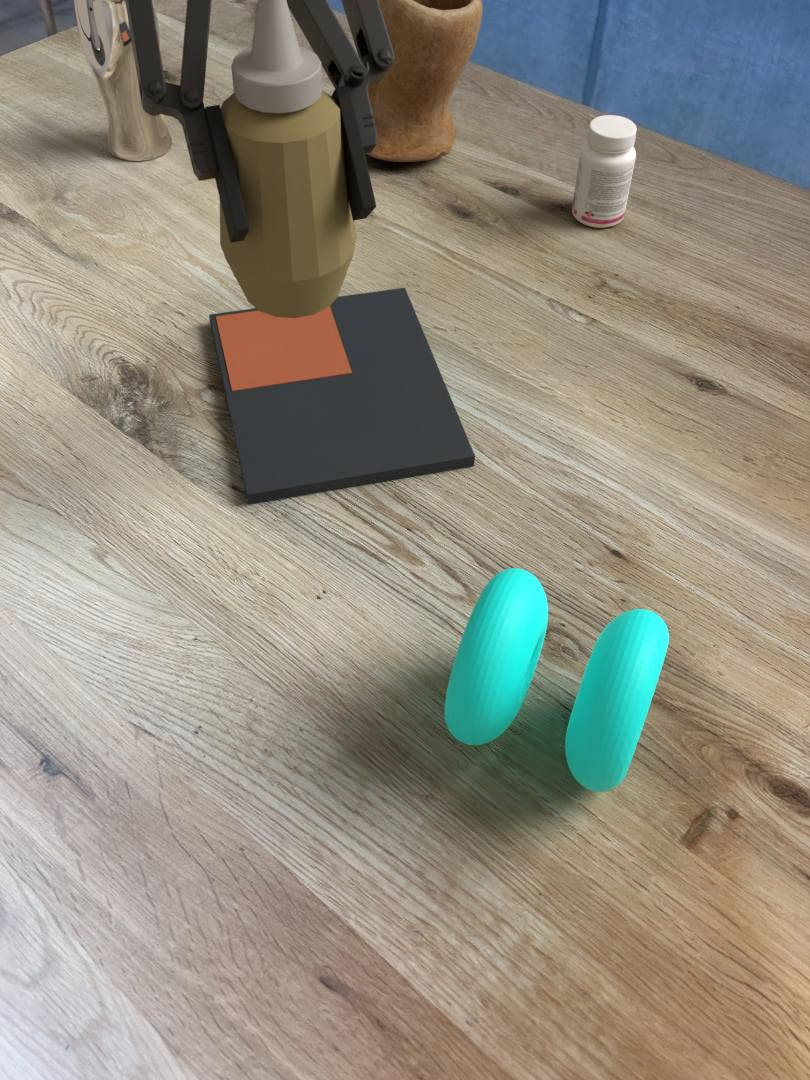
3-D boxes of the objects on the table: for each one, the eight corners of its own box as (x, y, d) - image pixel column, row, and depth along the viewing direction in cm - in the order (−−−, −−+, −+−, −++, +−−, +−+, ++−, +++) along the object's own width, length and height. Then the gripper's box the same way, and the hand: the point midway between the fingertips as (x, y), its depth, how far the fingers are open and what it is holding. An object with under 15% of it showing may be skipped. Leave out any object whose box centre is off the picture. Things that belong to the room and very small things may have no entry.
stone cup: (482, 168, 100) (495, 4, 88) (357, 175, 99) (354, 10, 87) (455, 91, 110) (464, -65, 98) (341, 97, 108) (337, -61, 97)
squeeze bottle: (199, 296, 65) (152, -8, 51) (287, 237, 69) (266, -58, 55) (297, 350, 62) (276, 42, 48) (383, 286, 66) (387, -15, 52)
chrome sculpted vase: (170, 122, 104) (144, -39, 93) (183, 157, 100) (157, -7, 89) (99, 133, 103) (63, -30, 92) (109, 169, 99) (73, 3, 87)
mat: (210, 324, 84) (208, 313, 83) (404, 297, 87) (405, 286, 86) (248, 504, 71) (246, 493, 70) (474, 466, 74) (475, 455, 73)
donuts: (492, 632, 65) (507, 524, 57) (651, 686, 62) (689, 582, 55) (432, 766, 59) (440, 666, 51) (606, 832, 56) (641, 738, 49)
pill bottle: (635, 218, 95) (653, 129, 88) (597, 235, 93) (612, 146, 86) (598, 194, 97) (613, 106, 91) (560, 211, 95) (573, 122, 89)
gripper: (360, -187, 61) (447, 211, 64) (17, -158, 57) (126, 270, 59) (392, -277, 54) (488, 177, 56) (2, -252, 49) (126, 240, 52)
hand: (302, 224), depth 58 cm, fingers closed on squeeze bottle, 6 cm apart
